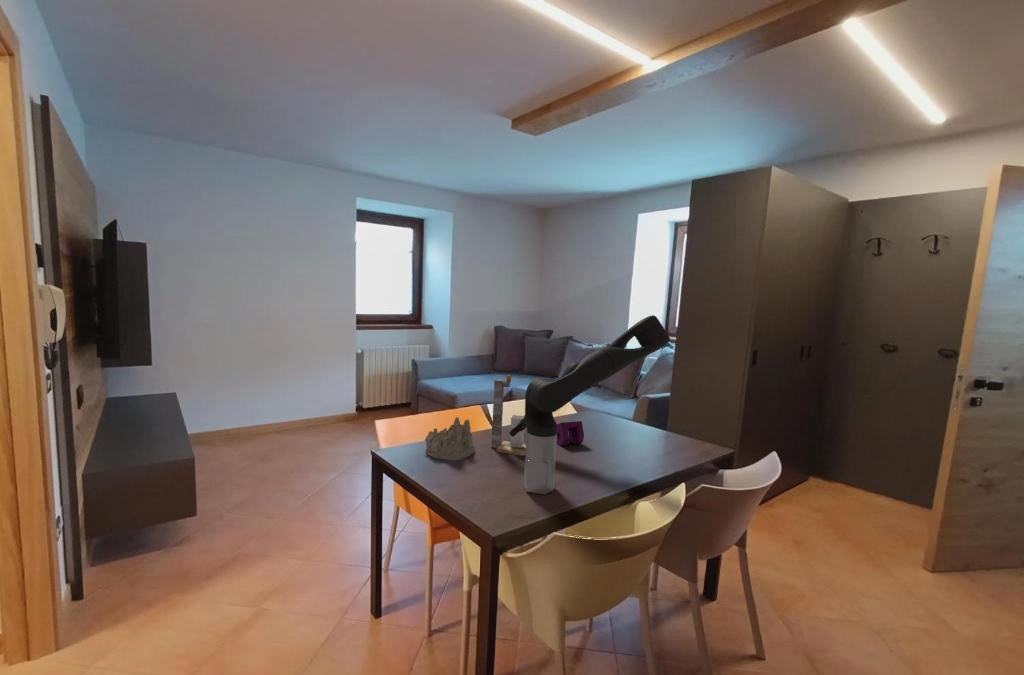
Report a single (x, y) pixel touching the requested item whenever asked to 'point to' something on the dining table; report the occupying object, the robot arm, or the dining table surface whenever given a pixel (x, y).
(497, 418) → the keeper
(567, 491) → the dining table surface
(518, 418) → the gray rectangular block
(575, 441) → the mounting bracket
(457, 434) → the gray sandcastle
